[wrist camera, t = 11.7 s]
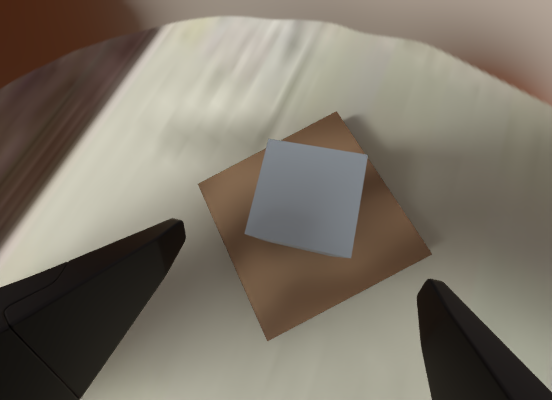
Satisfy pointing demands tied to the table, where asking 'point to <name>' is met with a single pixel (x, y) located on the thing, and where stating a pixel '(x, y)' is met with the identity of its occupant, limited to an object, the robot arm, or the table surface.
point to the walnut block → (304, 264)
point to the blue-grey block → (308, 198)
